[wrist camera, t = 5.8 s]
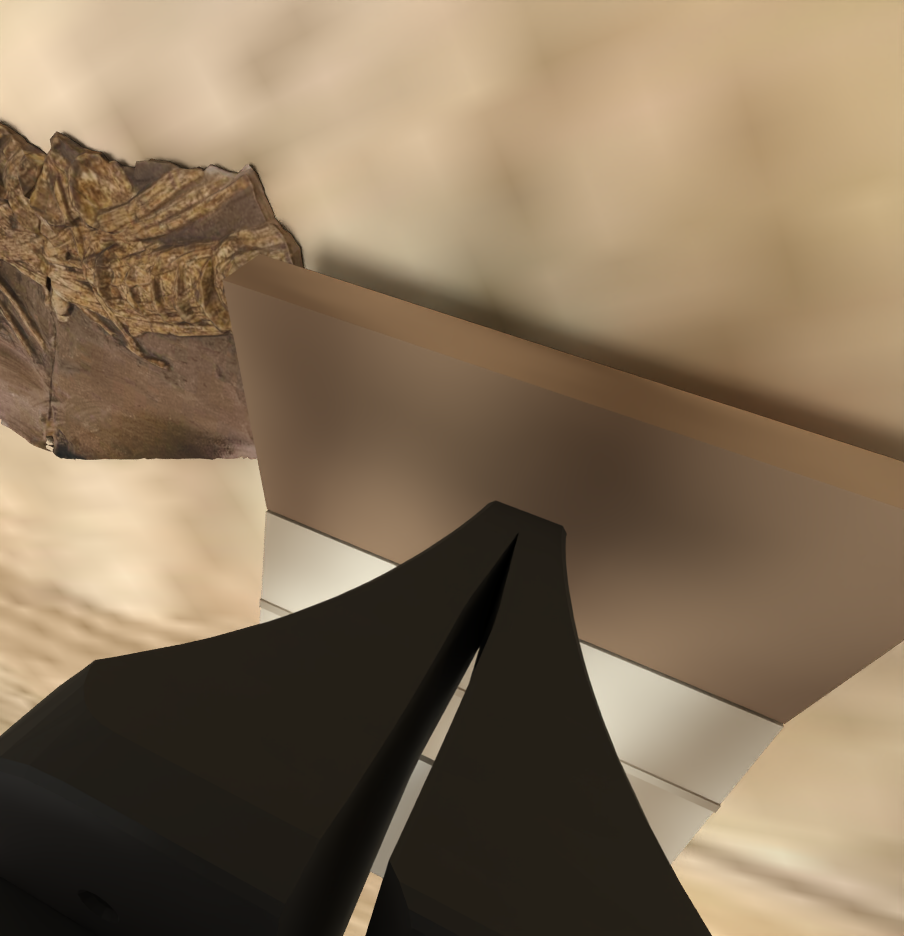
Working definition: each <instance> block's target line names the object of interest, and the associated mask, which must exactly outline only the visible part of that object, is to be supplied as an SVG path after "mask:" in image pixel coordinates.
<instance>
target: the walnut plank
mask: <svg viewBox="0 0 904 936" xmlns="http://www.w3.org/2000/svg"><path fill="white" fill-rule="evenodd" d="M223 285H224V290H225V295H226V300H227V306H228V311H229V316H230V321H231V326H232V331H233V336H234V342H235V347H236V352H237V357H238V362H239V367H240V372H241V377H242V383H243V388H244V393H245V398H246V403H247V408H248V413H249V419H250V424H251V429H252V434H253V439H254V444H255V449H256V455H257V460H258V465H259V470H260V475H261V480H262V485H263V490H264V496H265V501H266V506H267V509H268V510H271V511H273V512H275V513H278V514H280V515H283V516H285V517H287V518H290V519H292V520H295V521H297V522H299V523H302V524H304V525H307V526H309V527H312V528H314V529H316V530H319V531H321V532H324V533H326V534H328V535H331V536H333V537H336V538H338V539H340V540H343V541H345V542H348V543H350V544H352V545H355V546H357V547H360V548H362V549H365V550H367V551H369V552H372V553H374V554H377V555H379V556H381V557H384V558H386V559H389V560H391V561H393V562H396V563H398V564H402V563H404V562H405V561H407V560H409V559H411V558H413V557H414V556H416V555H418V554H419V553H421V552H423V551H424V550H426V549H427V548H429V547H430V546H432V545H433V544H435V543H436V542H438V541H439V540H441V539H442V538H444V537H445V536H447V535H448V534H450V533H451V532H453V531H454V530H456V529H457V528H458V527H460V526H461V525H462V524H464V523H465V522H466V521H468V520H469V519H470V518H472V517H473V516H474V515H475V514H477V513H478V512H479V511H480V510H481V509H482V508H484V507H485V506H486V505H487V504H488V503H490V502H493V501H499V502H501V503H504V504H507V505H509V506H512V507H515V508H517V509H520V510H523V511H525V512H528V513H530V514H533V515H536V516H538V517H541V518H544V519H546V520H549V521H552V522H554V523H557V524H559V525H562V526H563V527H564V529H565V531H566V533H567V536H566V566H567V577H568V585H569V592H570V597H571V603H572V609H573V615H574V620H575V625H576V629H577V634H578V638H579V639H581V640H584V641H586V642H589V643H591V644H594V645H596V646H598V647H601V648H603V649H606V650H608V651H610V652H613V653H615V654H618V655H620V656H622V657H625V658H627V659H630V660H632V661H635V662H637V663H639V664H642V665H644V666H647V667H649V668H651V669H654V670H656V671H659V672H661V673H663V674H666V675H668V676H671V677H673V678H675V679H678V680H680V681H683V682H685V683H688V684H690V685H692V686H695V687H697V688H700V689H702V690H704V691H707V692H709V693H712V694H714V695H716V696H719V697H721V698H724V699H726V700H729V701H731V702H733V703H736V704H738V705H741V706H743V707H745V708H748V709H750V710H753V711H755V712H757V713H760V714H762V715H765V716H767V717H769V718H772V719H774V720H777V721H779V722H782V723H784V724H785V723H786V722H788V721H789V720H791V719H792V718H794V717H795V716H796V715H798V714H799V713H801V712H802V711H804V710H805V709H806V708H808V707H809V706H811V705H812V704H814V703H815V702H816V701H818V700H819V699H821V698H822V697H824V696H825V695H826V694H828V693H829V692H831V691H832V690H833V689H835V688H836V687H838V686H839V685H841V684H842V683H843V682H845V681H846V680H848V679H849V678H851V677H852V676H853V675H855V674H856V673H858V672H859V671H861V670H862V669H863V668H865V667H866V666H868V665H869V664H871V663H872V662H873V661H875V660H876V659H878V658H879V657H881V656H882V655H883V654H885V653H886V652H888V651H889V650H891V649H892V648H893V647H895V646H896V645H898V644H899V643H900V642H902V641H903V640H904V462H902V461H899V460H896V459H893V458H890V457H887V456H884V455H881V454H878V453H874V452H871V451H868V450H865V449H862V448H859V447H856V446H853V445H850V444H847V443H843V442H840V441H837V440H834V439H831V438H828V437H825V436H822V435H819V434H816V433H812V432H809V431H806V430H803V429H800V428H797V427H794V426H791V425H788V424H785V423H782V422H778V421H775V420H772V419H769V418H766V417H763V416H760V415H757V414H754V413H751V412H747V411H744V410H741V409H738V408H735V407H732V406H729V405H726V404H723V403H720V402H716V401H713V400H710V399H707V398H704V397H701V396H698V395H695V394H692V393H689V392H686V391H682V390H679V389H676V388H673V387H670V386H667V385H664V384H661V383H658V382H655V381H651V380H648V379H645V378H642V377H639V376H636V375H633V374H630V373H627V372H624V371H620V370H617V369H614V368H611V367H608V366H605V365H602V364H599V363H596V362H593V361H590V360H586V359H583V358H580V357H577V356H574V355H571V354H568V353H565V352H562V351H559V350H555V349H552V348H549V347H546V346H543V345H540V344H537V343H534V342H531V341H528V340H524V339H521V338H518V337H515V336H512V335H509V334H506V333H503V332H500V331H497V330H494V329H490V328H487V327H484V326H481V325H478V324H475V323H472V322H469V321H466V320H463V319H459V318H456V317H453V316H450V315H447V314H444V313H441V312H438V311H435V310H432V309H428V308H425V307H422V306H419V305H416V304H413V303H410V302H407V301H404V300H401V299H397V298H394V297H391V296H388V295H385V294H382V293H379V292H376V291H373V290H370V289H367V288H363V287H360V286H357V285H354V284H351V283H348V282H345V281H342V280H339V279H336V278H332V277H329V276H326V275H323V274H320V273H317V272H314V271H311V270H308V269H305V268H301V267H298V266H295V265H292V264H289V263H286V262H283V261H280V260H277V259H274V258H271V257H267V256H264V255H261V254H259V255H257V256H256V257H255V258H253V259H252V260H250V261H249V262H247V263H246V264H245V265H243V266H242V267H240V268H239V269H237V270H236V271H235V272H233V273H232V274H230V275H229V276H227V277H226V278H225V279H223Z"/></svg>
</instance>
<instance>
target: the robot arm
mask: <svg viewBox="0 0 904 936" xmlns="http://www.w3.org/2000/svg"><path fill="white" fill-rule="evenodd" d="M566 536H567V533H566V531H565V529H564V527H563V526H562V525H559V524H557V523H554V522H552V521H549V520H546V519H544V518H541V517H538V516H536V515H533V514H530V513H528V512H525V511H523V510H520V509H517V508H515V507H512V506H509V505H507V504H504V503H501V502H499V501H493V502H490V503H488V504H487V505H486V506H485V507H484V508H482V509H481V510H480V511H479V512H478V513H477V514H475V515H474V516H473V517H472V518H470V519H469V520H468V521H466V522H465V523H464V524H462V525H461V526H460V527H458V528H457V529H456V530H454V531H453V532H451V533H450V534H448V535H447V536H445V537H444V538H442V539H441V540H439V541H438V542H436V543H435V544H433V545H432V546H430V547H429V548H427V549H426V550H424V551H423V552H421V553H419V554H418V555H416V556H414V557H413V558H411V559H409V560H407V561H405V562H404V563H402V564H400V565H398V566H397V567H395V568H393V569H391V570H390V571H388V572H386V573H384V574H382V575H380V576H378V577H376V578H374V579H373V580H371V581H369V582H366V583H364V584H362V585H360V586H358V587H356V588H354V589H351V590H349V591H347V592H345V593H342V594H340V595H338V596H336V597H333V598H331V599H328V600H326V601H323V602H321V603H318V604H315V605H313V606H310V607H308V608H305V609H302V610H300V611H297V612H295V613H292V614H289V615H286V616H283V617H280V618H277V619H274V620H271V621H268V622H264V623H261V624H257V625H254V626H250V627H247V628H243V629H240V630H236V631H233V632H229V633H226V634H222V635H219V636H215V637H211V638H207V639H203V640H198V641H194V642H189V643H185V644H180V645H175V646H170V647H164V648H159V649H154V650H149V651H143V652H138V653H133V654H128V655H123V656H117V657H111V658H105V659H99V660H95V661H93V662H92V663H91V664H89V665H88V666H87V667H85V668H84V669H83V670H81V671H80V672H79V673H77V674H76V675H74V676H73V677H72V678H70V679H69V680H67V681H66V682H64V683H63V684H62V685H60V686H59V687H58V688H57V689H55V690H54V691H53V692H52V693H50V694H49V695H48V696H47V697H46V698H44V699H43V700H42V701H41V702H40V703H38V704H37V705H36V706H35V707H34V708H33V709H31V710H30V711H29V712H28V713H27V714H25V715H24V716H23V717H22V718H21V719H20V720H18V721H17V722H16V723H15V724H14V725H13V726H11V727H10V728H9V729H8V730H7V731H5V732H4V733H3V734H2V735H1V736H0V936H343V934H344V932H345V930H346V927H347V925H348V922H349V920H350V918H351V915H352V913H353V911H354V908H355V906H356V903H357V901H358V899H359V896H360V894H361V892H362V889H363V887H364V884H365V882H366V880H367V877H368V875H369V873H370V870H371V868H372V866H373V863H374V861H375V859H376V856H377V854H378V852H379V849H380V847H381V844H382V842H383V840H384V837H385V835H386V833H387V830H388V828H389V826H390V823H391V821H392V819H393V816H394V814H395V812H396V809H397V807H398V805H399V802H400V800H401V798H402V795H403V793H404V791H405V788H406V786H407V784H408V781H409V779H410V777H411V775H412V773H413V771H414V769H415V767H416V765H417V762H418V760H419V758H420V756H421V754H422V752H423V750H424V748H425V747H426V745H427V743H428V741H429V739H430V737H431V736H432V734H433V732H434V730H435V728H436V726H437V725H438V723H439V721H440V719H441V717H442V715H443V713H444V712H445V710H446V708H447V706H448V704H449V702H450V701H451V699H452V697H453V695H454V693H455V691H456V690H457V688H458V686H459V684H460V682H461V680H462V678H463V677H464V675H465V673H466V671H467V669H468V667H469V666H470V664H471V662H472V660H473V658H474V656H475V654H476V652H477V651H478V649H479V651H478V654H477V658H476V661H475V664H474V668H473V671H472V674H471V678H470V681H469V684H468V686H467V689H466V691H465V693H464V696H463V698H462V700H461V702H460V705H459V707H458V709H457V712H456V714H455V716H454V718H453V720H452V723H451V725H450V727H449V729H448V732H447V734H446V736H445V738H444V741H443V743H442V745H441V747H440V750H439V752H438V754H437V756H436V758H435V761H434V763H433V765H432V767H431V770H430V772H429V774H428V776H427V778H426V780H425V783H424V785H423V787H422V789H421V791H420V794H419V796H418V798H417V800H416V802H415V805H414V807H413V809H412V811H411V813H410V815H409V818H408V820H407V822H406V824H405V826H404V829H403V831H402V833H401V835H400V837H399V839H398V841H397V844H396V846H395V848H394V850H393V852H392V854H391V856H390V859H389V861H388V864H387V868H386V871H385V874H384V877H383V881H382V884H381V887H380V890H379V894H378V897H377V900H376V903H375V906H374V910H373V913H372V916H371V919H370V923H369V926H368V929H367V932H366V935H365V936H712V935H711V933H710V932H709V930H708V928H707V927H706V925H705V923H704V922H703V920H702V918H701V917H700V915H699V913H698V912H697V910H696V908H695V907H694V905H693V904H692V902H691V900H690V899H689V897H688V895H687V894H686V892H685V890H684V889H683V887H682V885H681V883H680V882H679V880H678V878H677V876H676V874H675V872H674V870H673V869H672V867H671V865H670V863H669V861H668V859H667V857H666V855H665V853H664V851H663V850H662V848H661V846H660V844H659V842H658V840H657V838H656V836H655V834H654V832H653V831H652V829H651V827H650V825H649V822H648V820H647V818H646V816H645V814H644V812H643V810H642V807H641V805H640V803H639V801H638V799H637V797H636V794H635V792H634V790H633V788H632V786H631V784H630V781H629V779H628V777H627V775H626V773H625V771H624V768H623V766H622V764H621V762H620V760H619V758H618V755H617V753H616V751H615V748H614V745H613V743H612V740H611V738H610V735H609V733H608V730H607V728H606V725H605V722H604V720H603V717H602V714H601V711H600V709H599V706H598V703H597V700H596V697H595V694H594V691H593V688H592V685H591V682H590V679H589V675H588V672H587V668H586V665H585V661H584V658H583V654H582V650H581V646H580V642H579V638H578V634H577V629H576V625H575V620H574V615H573V609H572V603H571V597H570V592H569V585H568V577H567V566H566Z"/></svg>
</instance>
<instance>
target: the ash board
mask: <svg viewBox="0 0 904 936" xmlns="http://www.w3.org/2000/svg"><path fill="white" fill-rule="evenodd" d="M398 565H400V564H398V563H396V562H393V561H391V560H389V559H386V558H384V557H381V556H379V555H377V554H374V553H372V552H369V551H367V550H365V549H362V548H360V547H357V546H355V545H352V544H350V543H348V542H345V541H343V540H340V539H338V538H336V537H333V536H331V535H328V534H326V533H324V532H321V531H319V530H316V529H314V528H312V527H309V526H307V525H304V524H302V523H299V522H297V521H295V520H292V519H290V518H287V517H285V516H283V515H280V514H278V513H275V512H273V511H271V510H268V511H266V521H265V539H264V557H263V575H262V593H261V599H260V606H259V607H261V611H260V624H261V623H264V622H268V621H271V620H274V619H277V618H280V617H283V616H286V615H289V614H292V613H295V612H297V611H300V610H302V609H305V608H308V607H310V606H313V605H315V604H318V603H321V602H323V601H326V600H328V599H331V598H333V597H336V596H338V595H340V594H342V593H345V592H347V591H349V590H351V589H354V588H356V587H358V586H360V585H362V584H364V583H366V582H369V581H371V580H373V579H374V578H376V577H378V576H380V575H382V574H384V573H386V572H388V571H390V570H391V569H393V568H395V567H397V566H398ZM579 642H580V646H581V650H582V654H583V658H584V661H585V665H586V668H587V672H588V675H589V679H590V682H591V685H592V688H593V691H594V694H595V697H596V700H597V703H598V706H599V709H600V711H601V714H602V717H603V720H604V722H605V725H606V728H607V730H608V733H609V735H610V738H611V740H612V743H613V745H614V748H615V751H616V753H617V755H618V758H619V760H620V762H621V764H622V766H623V768H624V771H625V773H626V775H627V777H628V779H629V781H630V784H631V786H632V788H633V790H634V792H635V794H636V797H637V799H638V801H639V803H640V805H641V807H642V810H643V812H644V814H645V816H646V818H647V820H648V822H649V825H650V827H651V829H652V831H653V832H654V834H655V836H656V838H657V840H658V842H659V844H660V846H661V848H662V850H663V851H664V853H665V855H666V857H667V859H668V861H669V863H670V865H671V864H672V862H673V861H674V860H675V859H676V857H677V856H678V855H679V854H680V853H681V851H682V850H683V849H684V848H685V846H686V845H687V844H688V843H689V842H690V840H691V839H692V838H693V837H694V836H695V834H696V833H697V832H698V831H699V829H700V828H701V827H702V826H703V825H704V823H705V822H706V821H707V820H708V818H709V817H710V816H711V815H712V814H713V812H715V813H716V811H717V810H718V809H719V808H720V804H721V803H722V801H723V800H724V799H725V798H726V797H727V795H728V794H729V793H730V792H731V790H732V789H733V788H734V787H735V786H736V784H737V783H738V782H739V781H740V779H741V778H742V777H743V776H744V775H745V773H746V772H747V771H748V770H749V769H750V767H751V766H752V765H753V764H754V762H755V761H756V760H757V759H758V758H759V756H760V755H761V754H762V753H763V751H764V750H765V749H766V748H767V747H768V745H769V744H770V743H771V742H772V741H773V739H774V738H775V737H776V736H777V734H778V733H779V732H780V731H781V730H782V728H783V723H782V722H779V721H777V720H774V719H772V718H769V717H767V716H765V715H762V714H760V713H757V712H755V711H753V710H750V709H748V708H745V707H743V706H741V705H738V704H736V703H733V702H731V701H729V700H726V699H724V698H721V697H719V696H716V695H714V694H712V693H709V692H707V691H704V690H702V689H700V688H697V687H695V686H692V685H690V684H688V683H685V682H683V681H680V680H678V679H675V678H673V677H671V676H668V675H666V674H663V673H661V672H659V671H656V670H654V669H651V668H649V667H647V666H644V665H642V664H639V663H637V662H635V661H632V660H630V659H627V658H625V657H622V656H620V655H618V654H615V653H613V652H610V651H608V650H606V649H603V648H601V647H598V646H596V645H594V644H591V643H589V642H586V641H584V640H581V639H579ZM478 651H479V649H478ZM478 651H477V652H476V654H475V656H474V658H473V660H472V662H471V664H470V666H469V667H468V669H467V671H466V673H465V675H464V677H463V678H462V680H461V682H460V684H459V686H458V688H457V690H456V691H455V693H454V695H453V697H452V699H451V701H450V702H449V704H448V706H447V708H446V710H445V712H444V713H443V715H442V717H441V719H440V721H439V723H438V725H437V726H436V728H435V730H434V732H433V734H432V736H431V737H430V739H429V741H428V743H427V745H426V747H425V748H424V750H423V752H422V755H424V756H426V757H428V758H430V759H432V760H434V761H435V758H436V756H437V754H438V752H439V750H440V747H441V745H442V743H443V741H444V738H445V736H446V734H447V732H448V729H449V727H450V725H451V723H452V720H453V718H454V716H455V714H456V712H457V709H458V707H459V705H460V702H461V700H462V698H463V696H464V693H465V691H466V689H467V686H468V684H469V681H470V678H471V674H472V671H473V668H474V664H475V661H476V658H477V654H478Z"/></svg>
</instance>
